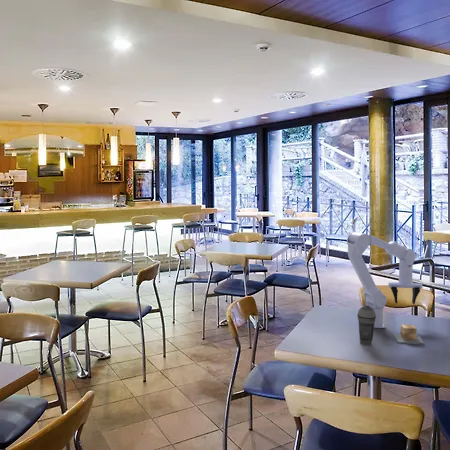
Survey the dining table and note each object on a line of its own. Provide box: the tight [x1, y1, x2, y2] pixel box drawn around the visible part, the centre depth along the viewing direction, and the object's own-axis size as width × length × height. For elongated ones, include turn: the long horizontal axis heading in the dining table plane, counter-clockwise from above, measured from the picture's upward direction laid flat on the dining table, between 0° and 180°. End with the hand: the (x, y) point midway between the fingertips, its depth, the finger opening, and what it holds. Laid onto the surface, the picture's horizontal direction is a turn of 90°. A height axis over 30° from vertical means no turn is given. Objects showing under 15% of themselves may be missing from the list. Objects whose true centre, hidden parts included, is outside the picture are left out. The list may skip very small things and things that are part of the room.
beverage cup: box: [357, 294, 376, 347], centre depth 188 cm, size 7×7×20 cm
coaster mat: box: [393, 333, 425, 346], centre depth 194 cm, size 10×10×1 cm
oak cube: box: [400, 324, 417, 341], centre depth 194 cm, size 5×5×5 cm
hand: (404, 303), depth 216 cm, fingers open, 7 cm apart
